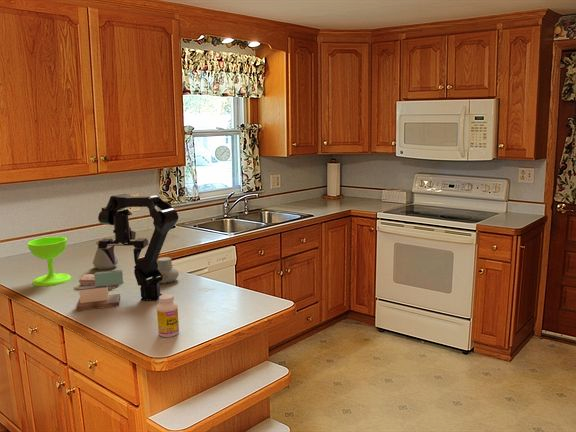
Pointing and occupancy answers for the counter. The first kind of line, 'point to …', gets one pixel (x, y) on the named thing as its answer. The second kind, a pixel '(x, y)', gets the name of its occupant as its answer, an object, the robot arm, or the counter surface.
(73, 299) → the counter surface
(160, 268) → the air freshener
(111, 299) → the brown flat block
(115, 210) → the robot arm
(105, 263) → the coffee pot
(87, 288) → the beige rectangular block
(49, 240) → the wineglass
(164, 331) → the supplement bottle
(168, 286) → the counter surface
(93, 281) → the packaged product
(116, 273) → the mint green pillar
